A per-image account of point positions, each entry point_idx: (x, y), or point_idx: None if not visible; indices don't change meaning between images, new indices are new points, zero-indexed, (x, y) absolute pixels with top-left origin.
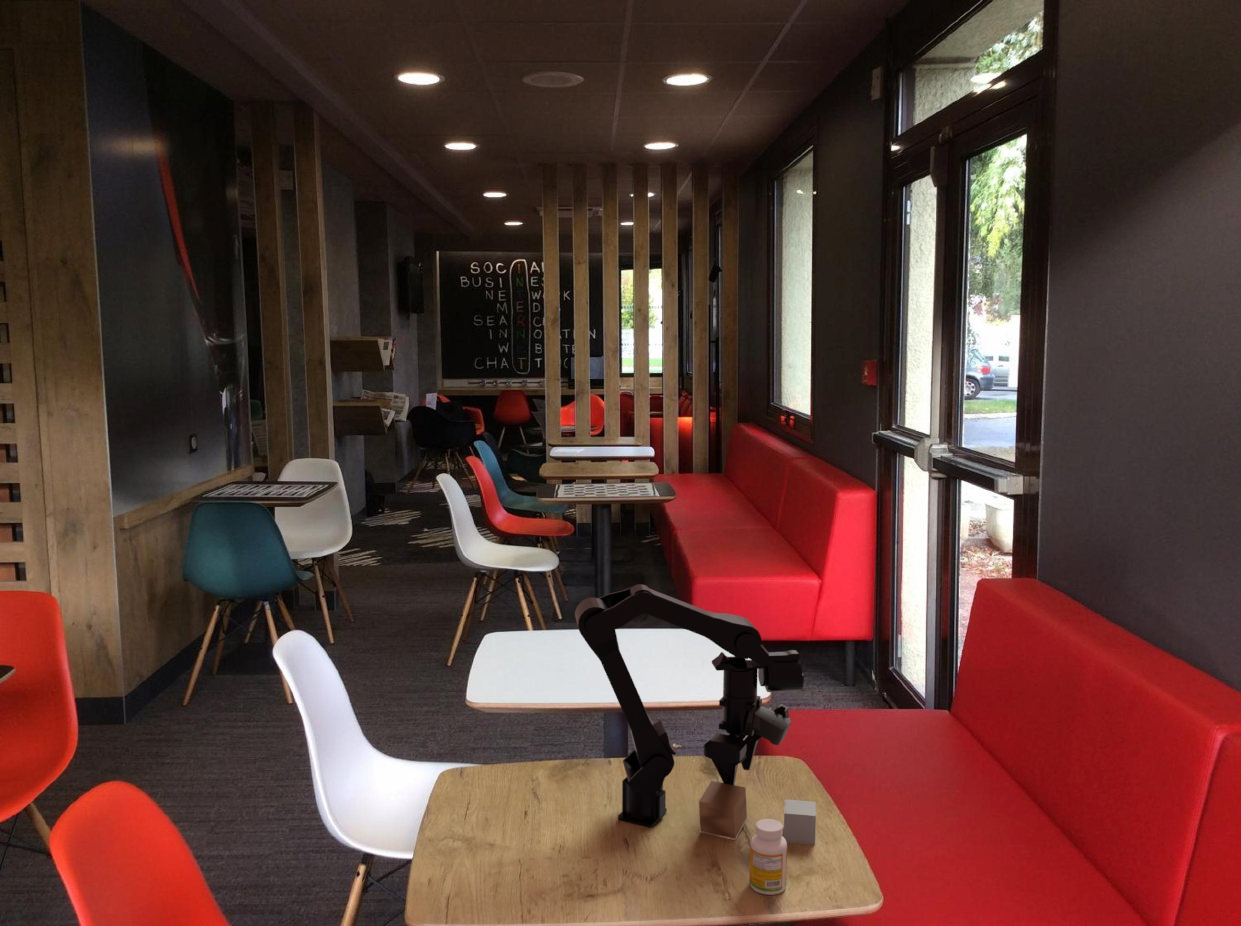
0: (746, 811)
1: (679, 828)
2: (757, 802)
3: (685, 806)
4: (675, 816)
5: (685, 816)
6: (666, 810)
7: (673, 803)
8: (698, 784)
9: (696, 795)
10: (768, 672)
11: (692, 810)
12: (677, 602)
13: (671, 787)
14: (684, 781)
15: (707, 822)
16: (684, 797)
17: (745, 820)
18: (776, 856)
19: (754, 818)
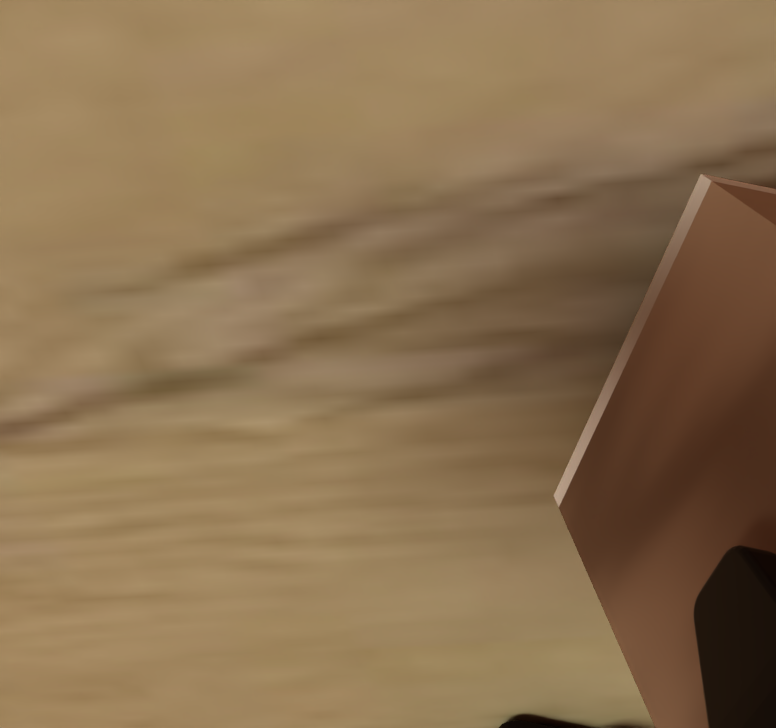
0: (757, 211)
1: None
2: (119, 72)
3: (400, 629)
4: (569, 668)
5: (561, 620)
6: (519, 726)
7: (373, 688)
8: (9, 581)
9: (197, 581)
10: None
11: (455, 589)
12: None
13: (141, 708)
14: (12, 655)
15: None
16: (259, 641)
17: (750, 184)
18: None
19: (528, 75)
